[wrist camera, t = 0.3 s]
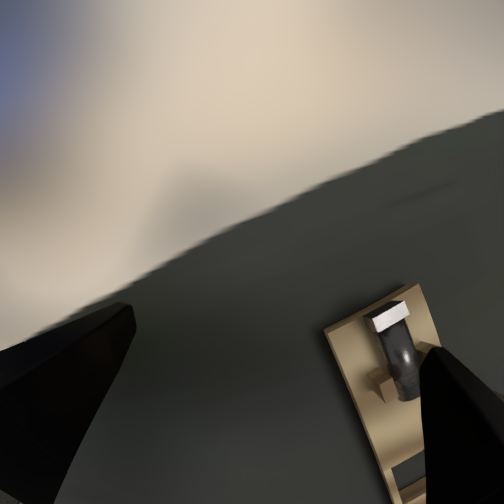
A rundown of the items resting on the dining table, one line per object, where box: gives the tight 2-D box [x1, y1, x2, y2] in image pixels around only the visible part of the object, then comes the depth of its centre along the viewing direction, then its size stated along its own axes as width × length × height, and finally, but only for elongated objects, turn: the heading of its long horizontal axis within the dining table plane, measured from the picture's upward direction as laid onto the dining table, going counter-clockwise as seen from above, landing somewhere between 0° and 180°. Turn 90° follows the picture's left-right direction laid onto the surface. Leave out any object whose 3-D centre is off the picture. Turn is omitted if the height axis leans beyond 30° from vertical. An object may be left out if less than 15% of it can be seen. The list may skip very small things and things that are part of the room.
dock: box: [323, 284, 441, 504], centre depth 16 cm, size 26×8×6 cm, turn 24°
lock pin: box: [362, 300, 421, 402], centre depth 17 cm, size 7×2×2 cm, turn 24°
